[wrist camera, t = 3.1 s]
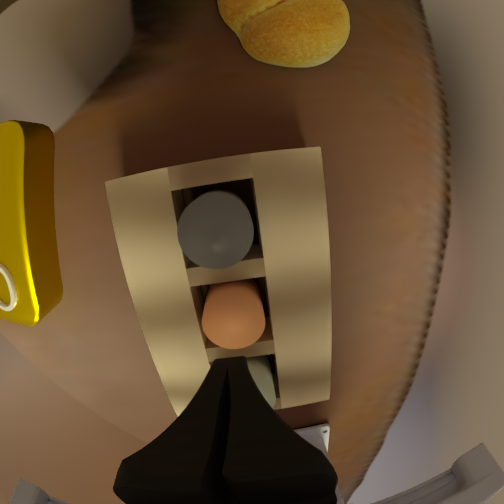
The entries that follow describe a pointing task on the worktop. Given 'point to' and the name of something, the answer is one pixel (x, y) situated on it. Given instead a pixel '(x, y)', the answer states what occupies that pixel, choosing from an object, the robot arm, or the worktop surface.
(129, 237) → the button panel
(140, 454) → the robot arm
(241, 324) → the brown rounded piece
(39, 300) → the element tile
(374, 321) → the worktop surface
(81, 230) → the worktop surface
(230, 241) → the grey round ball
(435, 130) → the worktop surface
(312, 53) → the bread roll
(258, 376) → the sage button
